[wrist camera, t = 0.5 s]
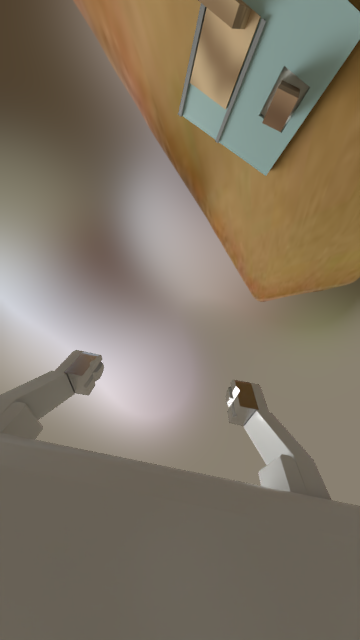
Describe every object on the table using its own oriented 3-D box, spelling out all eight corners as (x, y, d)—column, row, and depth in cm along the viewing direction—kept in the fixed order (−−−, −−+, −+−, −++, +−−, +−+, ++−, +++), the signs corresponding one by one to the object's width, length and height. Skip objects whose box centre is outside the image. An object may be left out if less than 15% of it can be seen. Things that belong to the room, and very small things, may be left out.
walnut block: (282, 80, 28) (277, 87, 24) (300, 89, 28) (298, 98, 24) (268, 111, 31) (262, 123, 27) (284, 119, 31) (280, 132, 27)
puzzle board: (232, -107, 20) (226, -119, 18) (367, 23, 23) (372, 22, 21) (183, 111, 36) (178, 114, 34) (267, 171, 39) (265, 177, 37)
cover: (215, -24, 23) (192, -38, 18) (261, 16, 24) (249, 12, 19) (191, 82, 31) (171, 90, 26) (226, 108, 32) (212, 120, 27)
